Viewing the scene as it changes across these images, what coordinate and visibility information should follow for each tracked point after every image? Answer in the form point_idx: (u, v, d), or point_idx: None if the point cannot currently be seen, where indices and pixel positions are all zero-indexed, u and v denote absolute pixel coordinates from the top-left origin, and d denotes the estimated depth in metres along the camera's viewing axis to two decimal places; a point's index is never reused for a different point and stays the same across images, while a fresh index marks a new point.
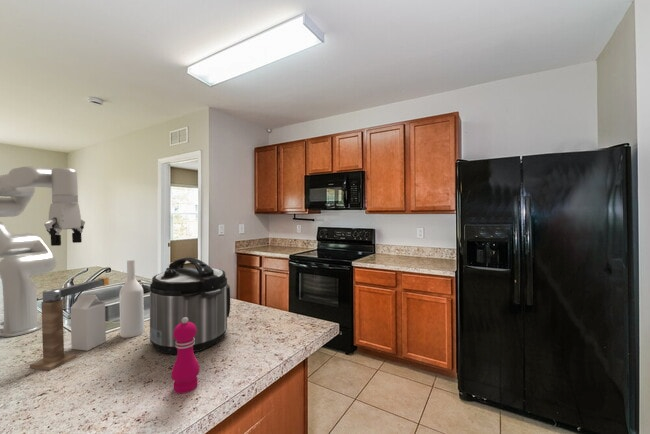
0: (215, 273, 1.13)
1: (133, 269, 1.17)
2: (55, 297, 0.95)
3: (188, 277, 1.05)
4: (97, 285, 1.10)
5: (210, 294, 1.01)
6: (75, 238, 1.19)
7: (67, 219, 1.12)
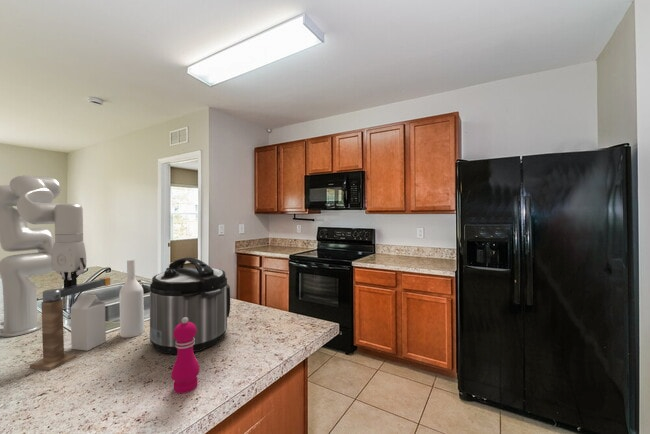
0: (215, 273, 1.13)
1: (133, 269, 1.17)
2: (55, 297, 0.95)
3: (188, 277, 1.05)
4: (98, 285, 1.10)
5: (210, 294, 1.01)
6: (69, 285, 1.04)
7: None
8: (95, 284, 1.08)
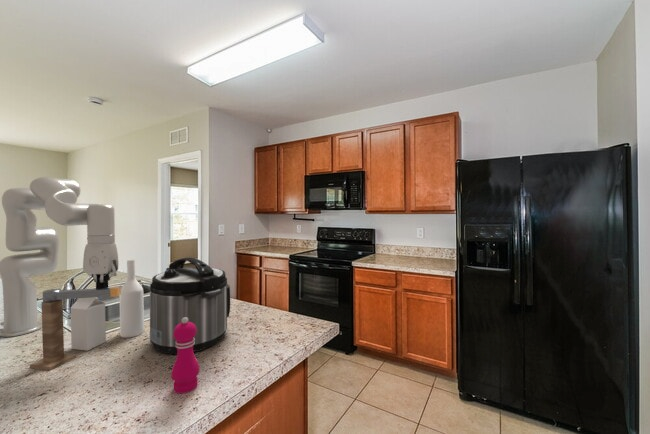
0: (215, 273, 1.13)
1: (133, 269, 1.17)
2: (45, 299, 0.93)
3: (188, 277, 1.05)
4: (102, 294, 0.98)
5: (210, 294, 1.02)
6: None
7: None
8: (98, 293, 0.98)
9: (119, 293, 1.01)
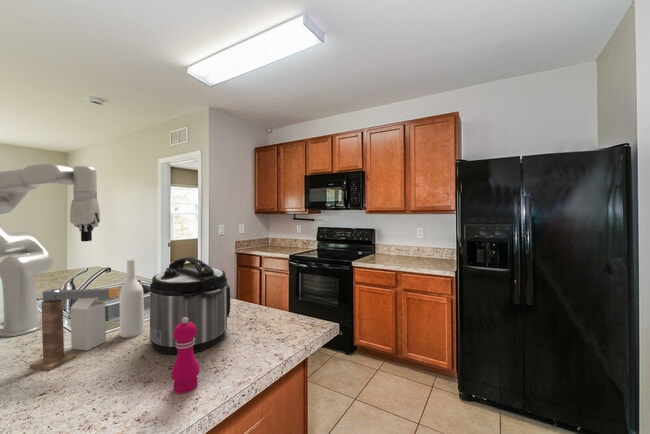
0: (215, 273, 1.13)
1: (133, 269, 1.17)
2: (45, 299, 0.93)
3: (188, 277, 1.05)
4: (100, 295, 0.97)
5: (210, 294, 1.01)
6: None
7: None
8: (96, 293, 0.97)
9: (118, 294, 1.00)
